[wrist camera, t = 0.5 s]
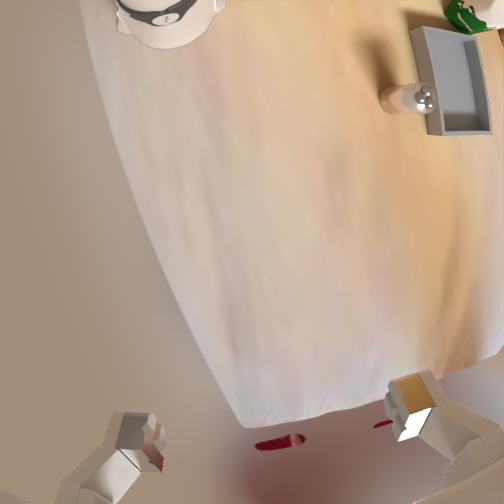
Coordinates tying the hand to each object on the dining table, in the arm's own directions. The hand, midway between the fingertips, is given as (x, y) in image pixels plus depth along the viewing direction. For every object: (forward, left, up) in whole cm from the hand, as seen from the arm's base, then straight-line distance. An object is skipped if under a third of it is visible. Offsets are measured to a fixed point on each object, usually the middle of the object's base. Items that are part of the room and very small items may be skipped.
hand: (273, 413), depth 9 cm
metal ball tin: (-11, +32, -46) cm, 57 cm away
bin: (-15, +48, -46) cm, 68 cm away
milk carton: (-32, +57, -46) cm, 80 cm away
